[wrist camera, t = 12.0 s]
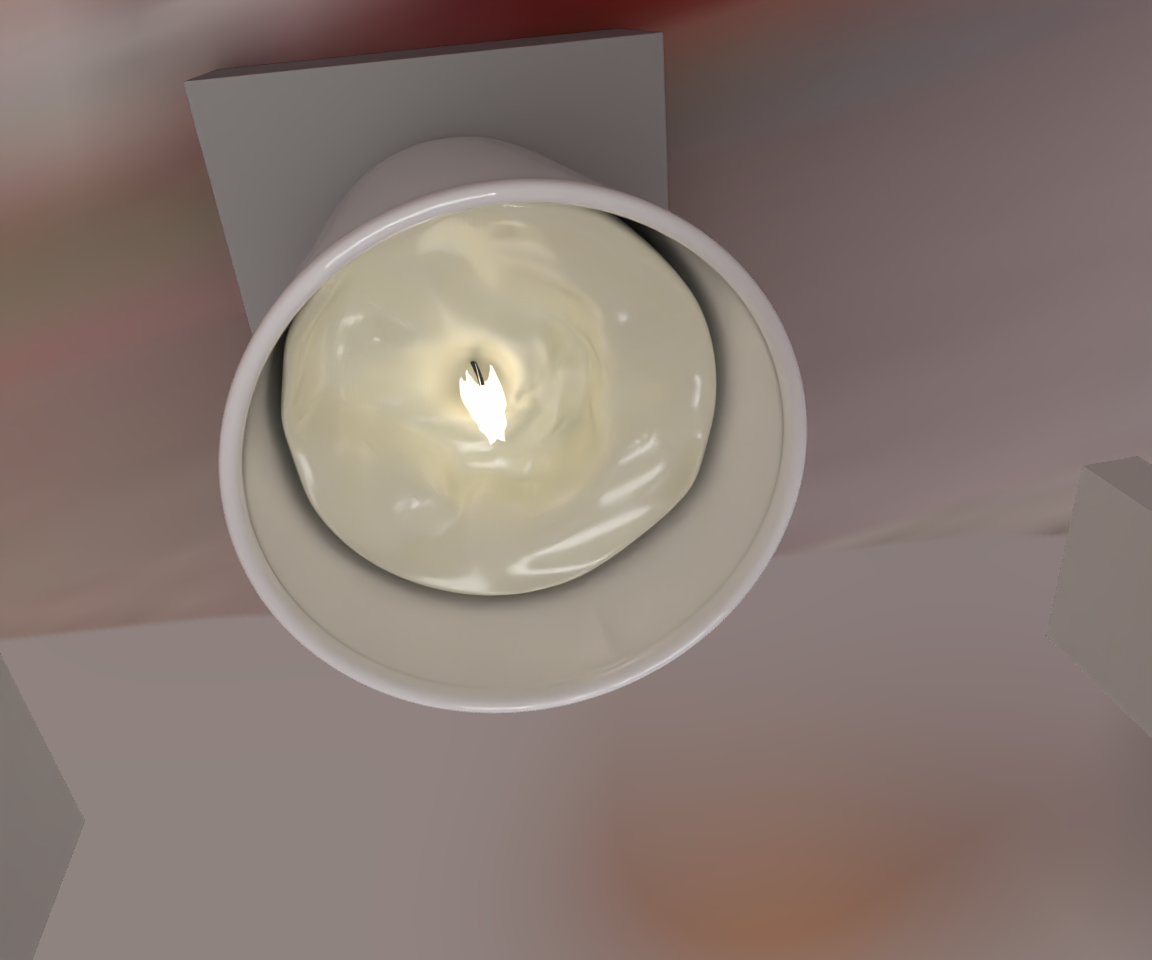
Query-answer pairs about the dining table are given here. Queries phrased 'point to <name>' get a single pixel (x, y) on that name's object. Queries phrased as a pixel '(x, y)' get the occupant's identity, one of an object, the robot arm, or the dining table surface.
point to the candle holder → (509, 434)
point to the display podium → (416, 129)
